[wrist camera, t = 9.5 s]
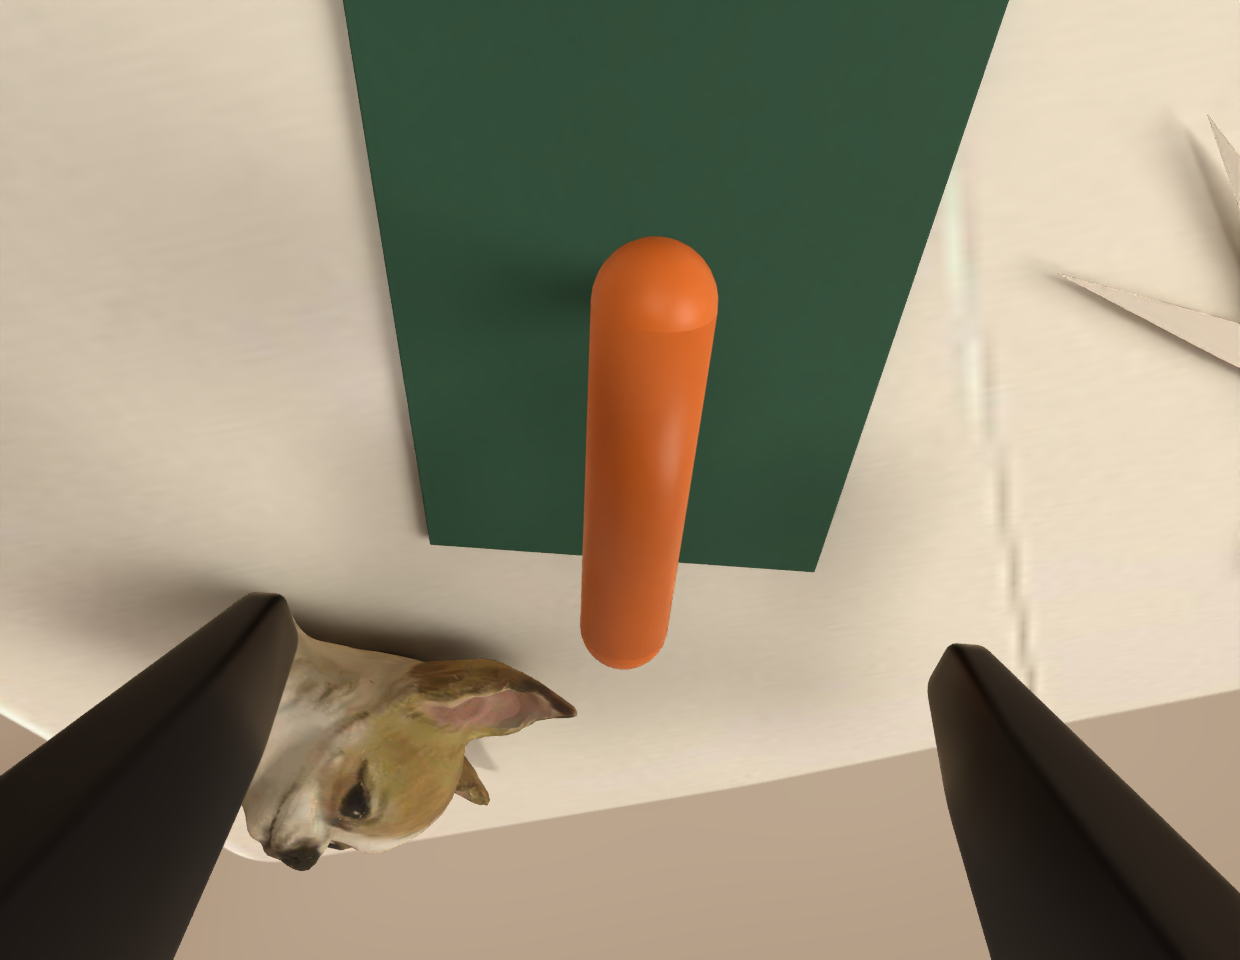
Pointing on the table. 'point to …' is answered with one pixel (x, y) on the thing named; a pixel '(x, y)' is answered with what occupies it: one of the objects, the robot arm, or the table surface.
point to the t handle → (641, 440)
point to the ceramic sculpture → (379, 746)
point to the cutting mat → (655, 206)
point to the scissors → (1195, 327)
